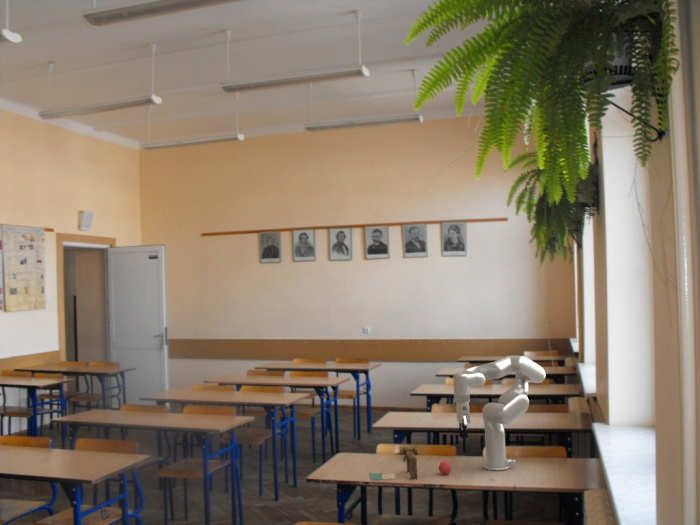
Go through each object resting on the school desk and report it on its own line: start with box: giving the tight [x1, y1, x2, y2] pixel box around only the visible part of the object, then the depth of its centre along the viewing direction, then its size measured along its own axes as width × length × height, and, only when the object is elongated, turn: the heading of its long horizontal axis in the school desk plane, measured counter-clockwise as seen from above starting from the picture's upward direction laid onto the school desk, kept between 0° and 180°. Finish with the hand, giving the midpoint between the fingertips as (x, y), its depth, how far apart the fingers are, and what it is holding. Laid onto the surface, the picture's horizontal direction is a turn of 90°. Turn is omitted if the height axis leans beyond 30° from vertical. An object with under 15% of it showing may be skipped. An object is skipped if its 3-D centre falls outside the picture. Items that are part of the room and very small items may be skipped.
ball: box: [438, 460, 452, 475], centre depth 314 cm, size 6×6×6 cm
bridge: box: [405, 451, 418, 481], centre depth 313 cm, size 3×15×10 cm, turn 2°
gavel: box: [399, 445, 420, 462], centre depth 352 cm, size 21×5×10 cm
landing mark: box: [369, 472, 383, 481], centre depth 312 cm, size 12×12×1 cm
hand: (463, 437), depth 315 cm, fingers open, 3 cm apart
